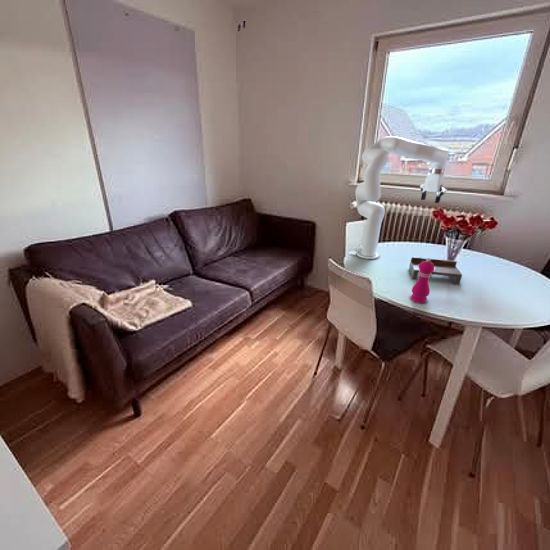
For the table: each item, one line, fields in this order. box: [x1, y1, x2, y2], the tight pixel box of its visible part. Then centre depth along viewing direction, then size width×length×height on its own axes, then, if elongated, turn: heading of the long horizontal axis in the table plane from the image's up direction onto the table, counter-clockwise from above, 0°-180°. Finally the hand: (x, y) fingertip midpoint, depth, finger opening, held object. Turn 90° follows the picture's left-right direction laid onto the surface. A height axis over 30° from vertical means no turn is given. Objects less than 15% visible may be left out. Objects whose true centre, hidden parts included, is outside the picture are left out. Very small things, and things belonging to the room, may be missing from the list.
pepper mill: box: [410, 257, 434, 304], centre depth 134 cm, size 7×7×20 cm
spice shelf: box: [408, 256, 463, 285], centre depth 160 cm, size 22×12×8 cm, turn 77°
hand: (429, 201), depth 188 cm, fingers open, 9 cm apart
